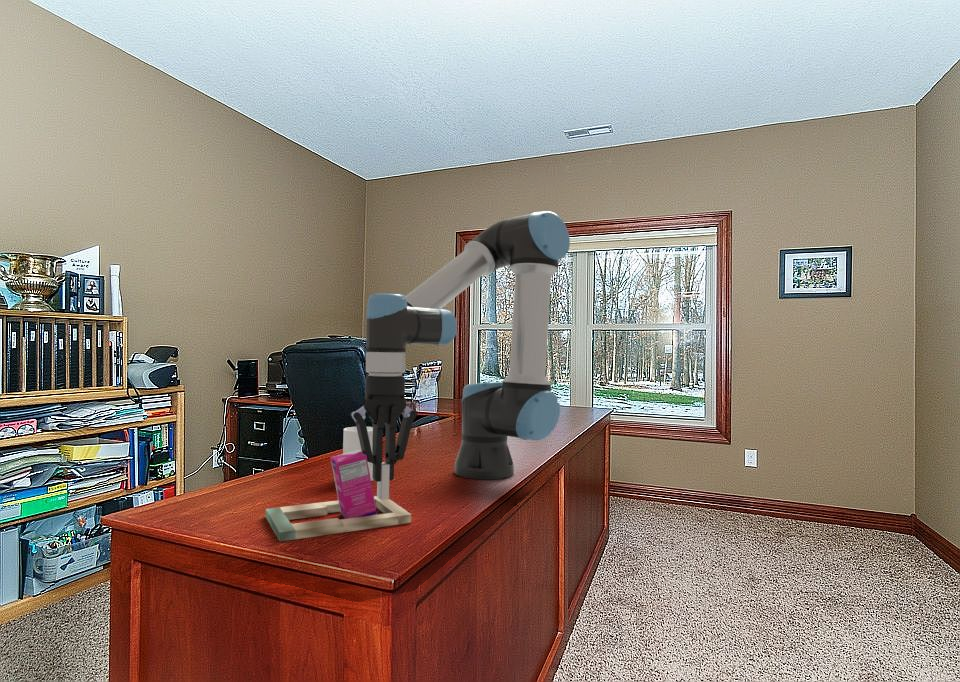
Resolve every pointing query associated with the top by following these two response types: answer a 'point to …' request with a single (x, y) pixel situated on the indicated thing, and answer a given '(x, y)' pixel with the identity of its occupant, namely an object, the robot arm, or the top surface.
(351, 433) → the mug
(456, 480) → the top surface
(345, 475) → the supplement box
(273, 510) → the cream and green frame
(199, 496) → the top surface
